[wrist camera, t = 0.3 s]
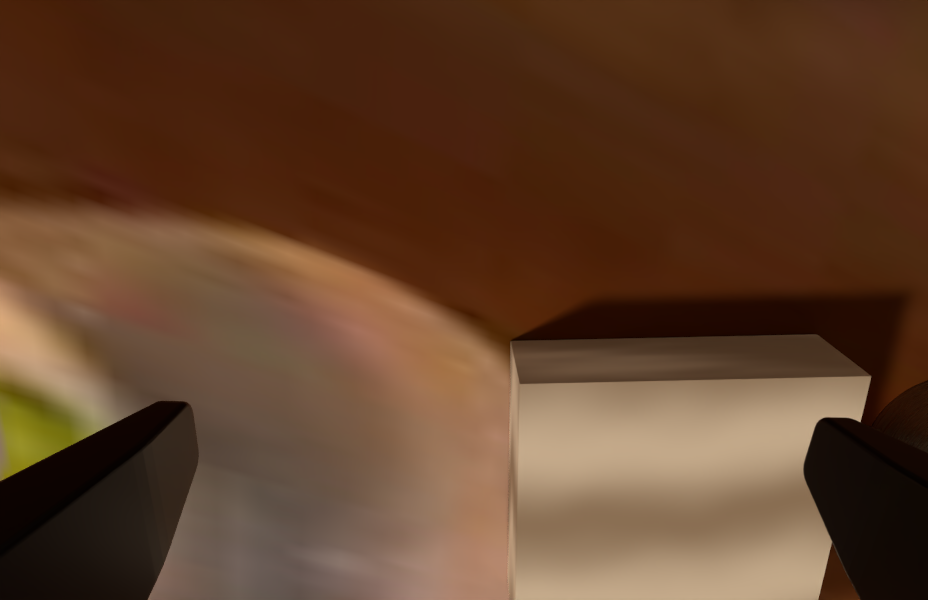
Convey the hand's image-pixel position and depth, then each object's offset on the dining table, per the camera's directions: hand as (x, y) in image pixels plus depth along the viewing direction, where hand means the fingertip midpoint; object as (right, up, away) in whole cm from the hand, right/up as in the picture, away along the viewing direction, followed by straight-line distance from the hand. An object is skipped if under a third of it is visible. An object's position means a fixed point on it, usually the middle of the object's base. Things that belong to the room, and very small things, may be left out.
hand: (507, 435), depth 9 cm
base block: (+7, -5, +18) cm, 20 cm away
